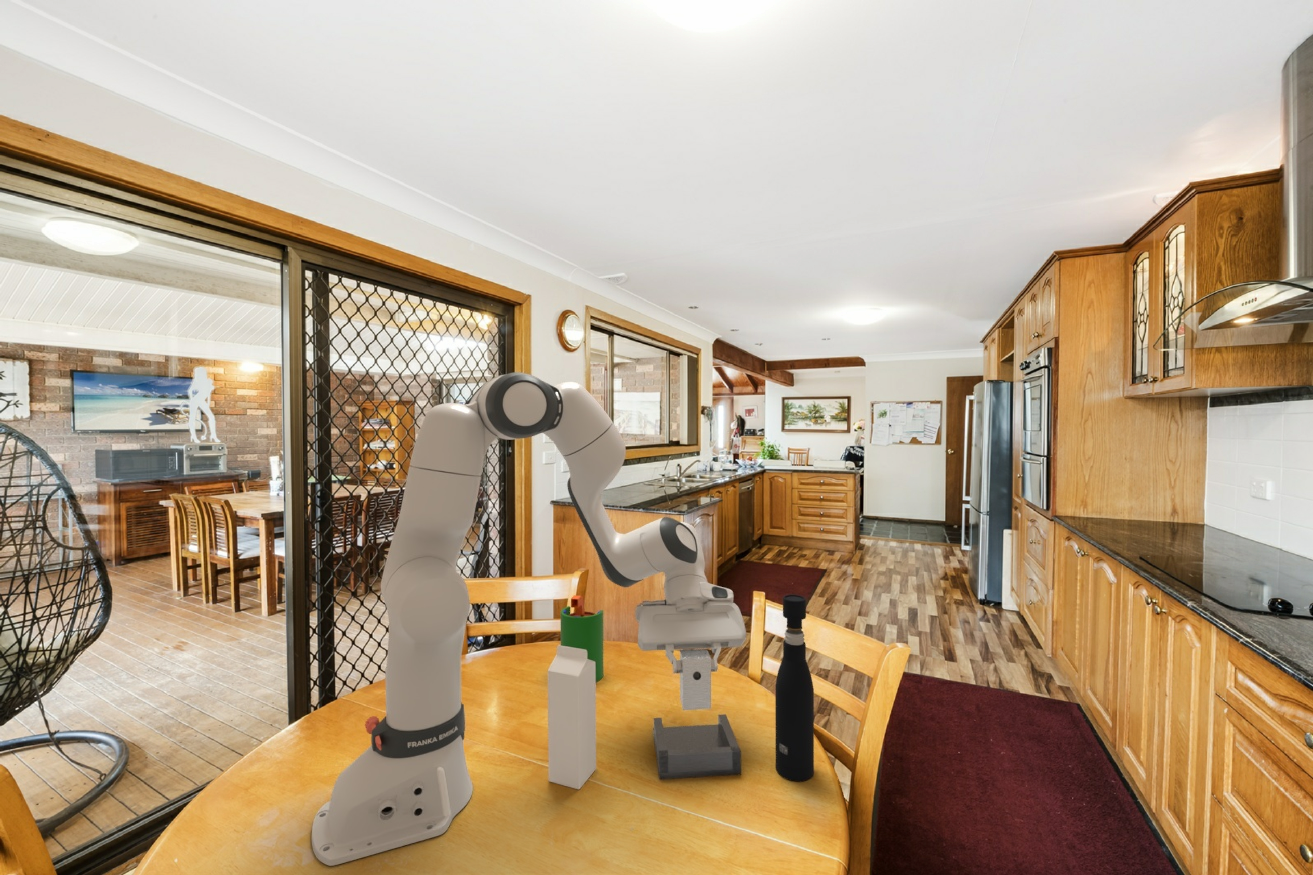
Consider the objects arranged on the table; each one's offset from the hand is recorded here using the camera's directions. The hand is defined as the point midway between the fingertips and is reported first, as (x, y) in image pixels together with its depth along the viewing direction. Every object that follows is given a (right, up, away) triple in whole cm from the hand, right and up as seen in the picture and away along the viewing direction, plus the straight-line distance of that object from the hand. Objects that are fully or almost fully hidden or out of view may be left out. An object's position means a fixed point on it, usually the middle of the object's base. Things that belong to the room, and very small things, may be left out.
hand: (695, 671), depth 96 cm
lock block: (0, -6, +1) cm, 6 cm away
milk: (-21, -16, -4) cm, 27 cm away
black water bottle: (+17, -16, -3) cm, 23 cm away
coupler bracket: (0, -16, +2) cm, 16 cm away
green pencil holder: (-25, -16, +33) cm, 44 cm away
